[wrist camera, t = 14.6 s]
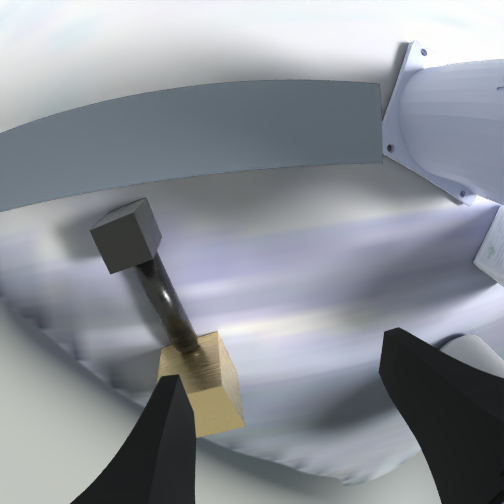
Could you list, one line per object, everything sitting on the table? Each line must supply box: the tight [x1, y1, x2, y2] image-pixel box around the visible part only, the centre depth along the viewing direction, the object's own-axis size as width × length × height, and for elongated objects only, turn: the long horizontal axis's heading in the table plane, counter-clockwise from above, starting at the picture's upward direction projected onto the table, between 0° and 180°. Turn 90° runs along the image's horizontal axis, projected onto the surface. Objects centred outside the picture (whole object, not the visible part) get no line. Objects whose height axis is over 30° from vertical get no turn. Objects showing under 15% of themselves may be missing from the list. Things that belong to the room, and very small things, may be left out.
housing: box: [0, 80, 383, 212], centre depth 13 cm, size 3×17×7 cm, turn 94°
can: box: [439, 334, 504, 378], centre depth 20 cm, size 8×8×12 cm
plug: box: [90, 198, 245, 438], centre depth 17 cm, size 14×4×5 cm, turn 17°
